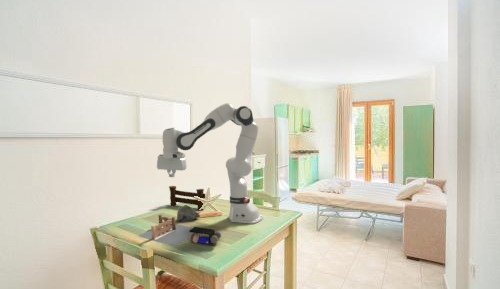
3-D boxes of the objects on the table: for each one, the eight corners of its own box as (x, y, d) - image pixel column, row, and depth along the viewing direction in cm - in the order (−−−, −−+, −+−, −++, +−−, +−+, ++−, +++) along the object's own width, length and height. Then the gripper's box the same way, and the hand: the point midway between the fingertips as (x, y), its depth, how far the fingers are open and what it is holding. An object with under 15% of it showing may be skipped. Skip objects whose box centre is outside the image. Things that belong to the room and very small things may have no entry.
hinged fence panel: (170, 229, 144) (170, 218, 143) (173, 230, 143) (172, 219, 143) (151, 238, 133) (150, 226, 132) (153, 238, 132) (152, 227, 131)
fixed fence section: (176, 229, 145) (176, 217, 145) (174, 230, 143) (173, 218, 143) (160, 226, 151) (160, 214, 150) (158, 227, 149) (157, 215, 149)
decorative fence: (206, 208, 184) (205, 188, 183) (201, 211, 179) (201, 190, 178) (172, 203, 199) (171, 185, 198) (166, 205, 194) (165, 186, 193)
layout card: (203, 230, 143) (203, 229, 143) (176, 246, 124) (176, 245, 124) (167, 223, 156) (167, 222, 156) (137, 236, 137) (137, 235, 137)
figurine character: (220, 244, 129) (193, 238, 132) (222, 229, 128) (194, 224, 131) (216, 250, 122) (187, 244, 125) (217, 235, 121) (188, 229, 125)
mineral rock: (201, 219, 162) (200, 203, 162) (190, 224, 153) (189, 208, 152) (186, 216, 168) (185, 201, 168) (174, 221, 159) (173, 206, 158)
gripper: (154, 154, 154) (155, 177, 155) (180, 155, 146) (181, 178, 147) (161, 153, 160) (162, 175, 161) (187, 154, 152) (188, 177, 153)
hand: (171, 177), depth 154 cm, fingers closed
